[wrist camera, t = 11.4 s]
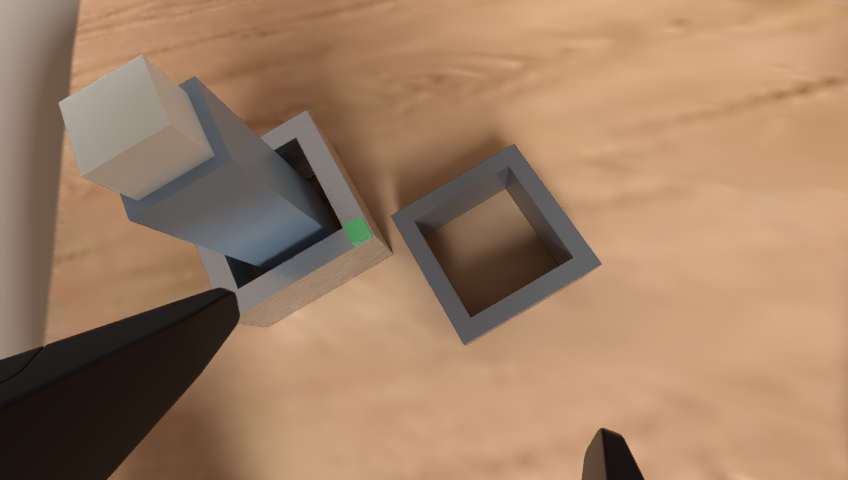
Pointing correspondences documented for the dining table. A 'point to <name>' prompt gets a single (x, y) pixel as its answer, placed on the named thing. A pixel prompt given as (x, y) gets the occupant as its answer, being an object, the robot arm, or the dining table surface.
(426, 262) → the frame
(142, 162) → the plug
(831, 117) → the dining table surface
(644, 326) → the dining table surface
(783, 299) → the dining table surface
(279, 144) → the socket block
